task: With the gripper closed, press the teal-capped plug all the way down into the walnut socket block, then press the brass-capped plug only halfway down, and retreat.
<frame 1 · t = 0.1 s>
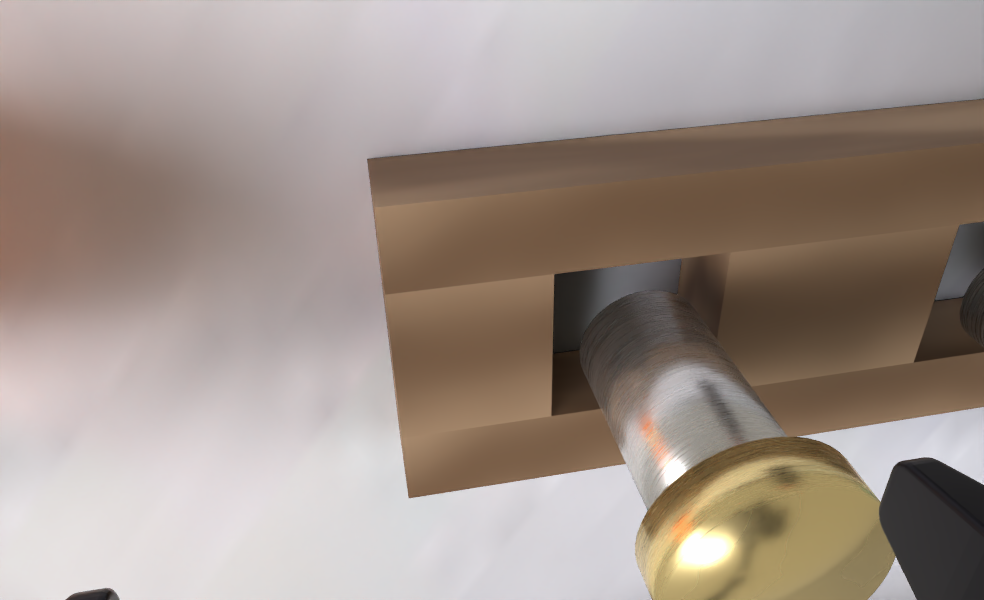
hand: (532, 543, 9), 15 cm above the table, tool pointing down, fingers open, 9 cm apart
socket block: (780, 262, 26), on the table
brass plug: (698, 442, 19), point 7 cm above the table, slide at 0.0 cm
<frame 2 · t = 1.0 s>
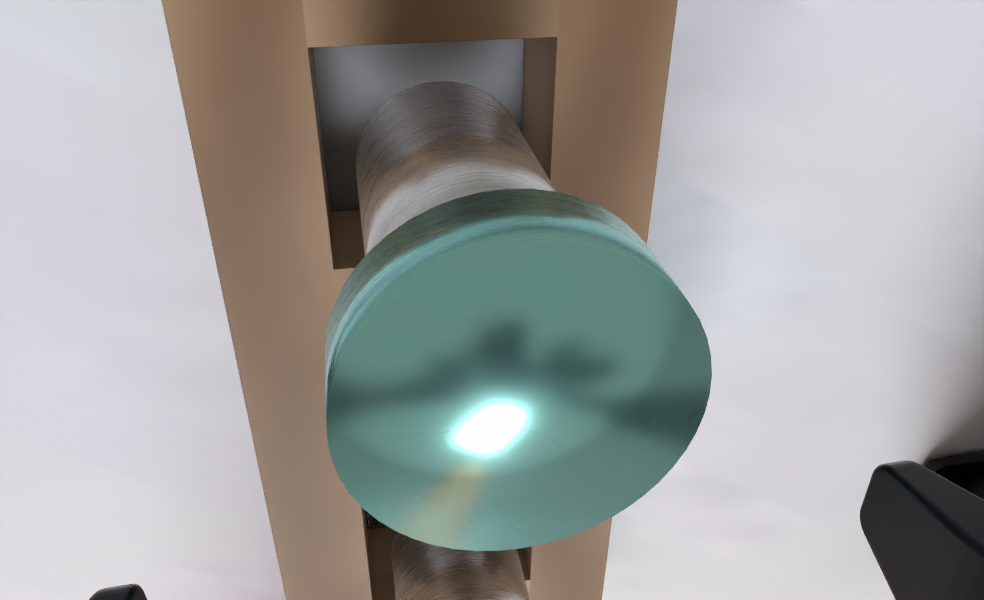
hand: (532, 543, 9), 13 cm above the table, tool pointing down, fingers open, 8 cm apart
teal plug: (472, 259, 14), point 7 cm above the table, slide at 0.0 cm
socket block: (431, 314, 23), on the table
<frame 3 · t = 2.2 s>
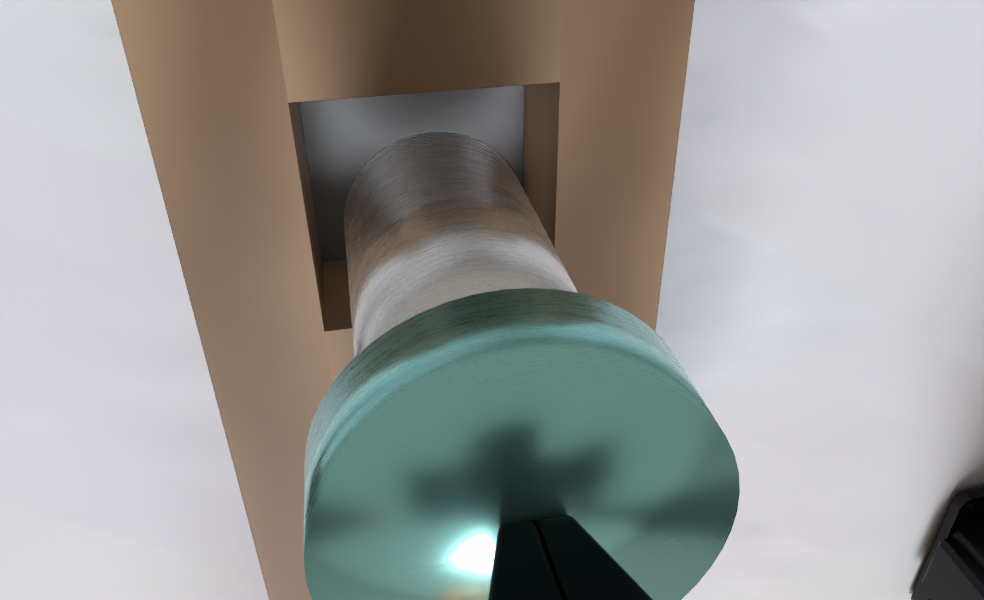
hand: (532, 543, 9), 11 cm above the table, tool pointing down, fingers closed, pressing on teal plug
teal plug: (470, 337, 12), point 7 cm above the table, slide at 0.1 cm, touching gripper
socket block: (432, 363, 22), on the table
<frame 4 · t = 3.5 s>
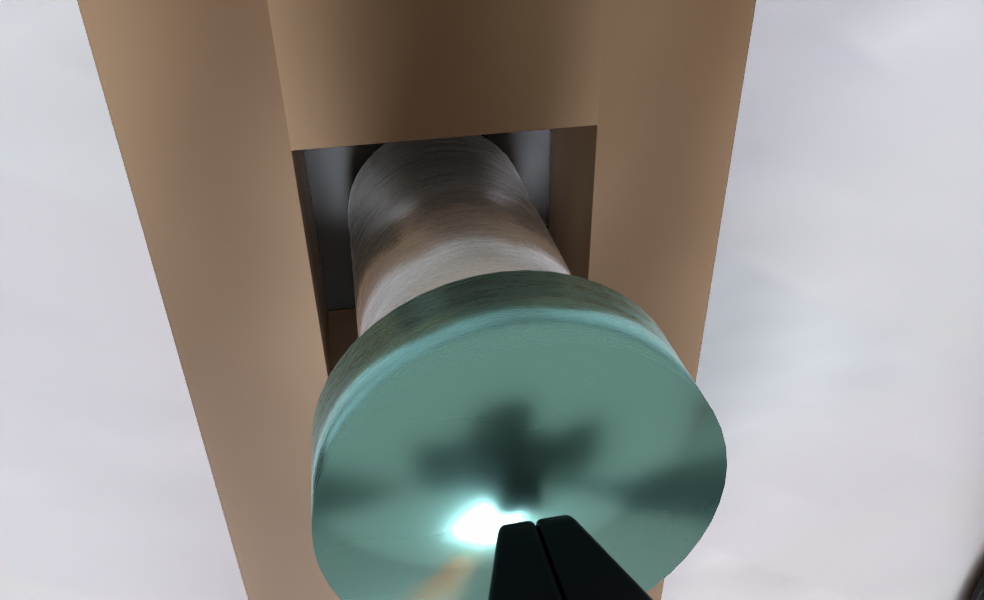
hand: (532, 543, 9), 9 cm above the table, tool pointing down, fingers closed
teal plug: (470, 323, 13), point 5 cm above the table, slide at 2.7 cm
socket block: (446, 415, 20), on the table
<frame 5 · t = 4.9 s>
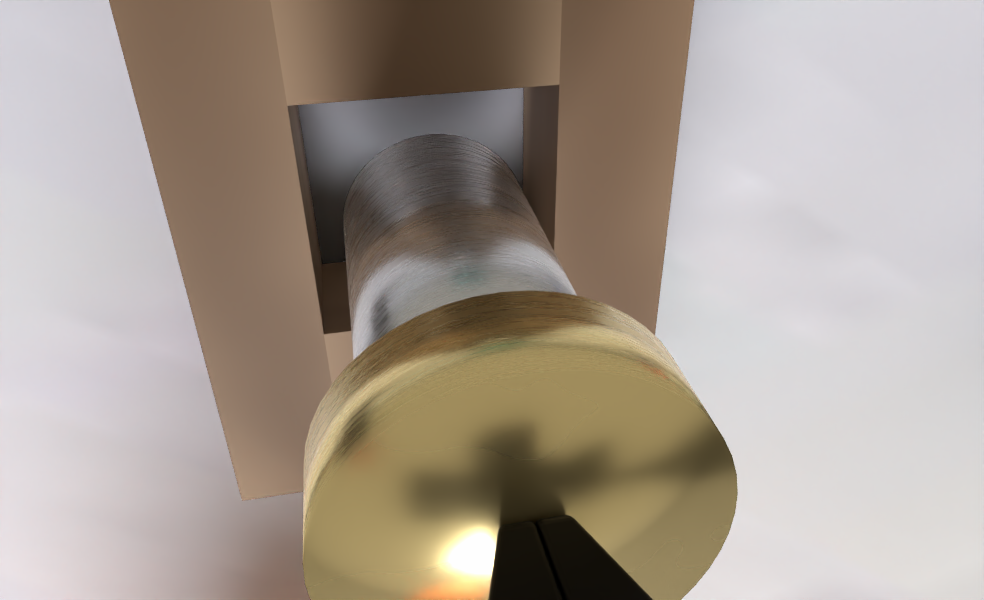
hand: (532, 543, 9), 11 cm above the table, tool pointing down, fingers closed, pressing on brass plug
brass plug: (469, 339, 12), point 7 cm above the table, slide at 0.2 cm, touching gripper
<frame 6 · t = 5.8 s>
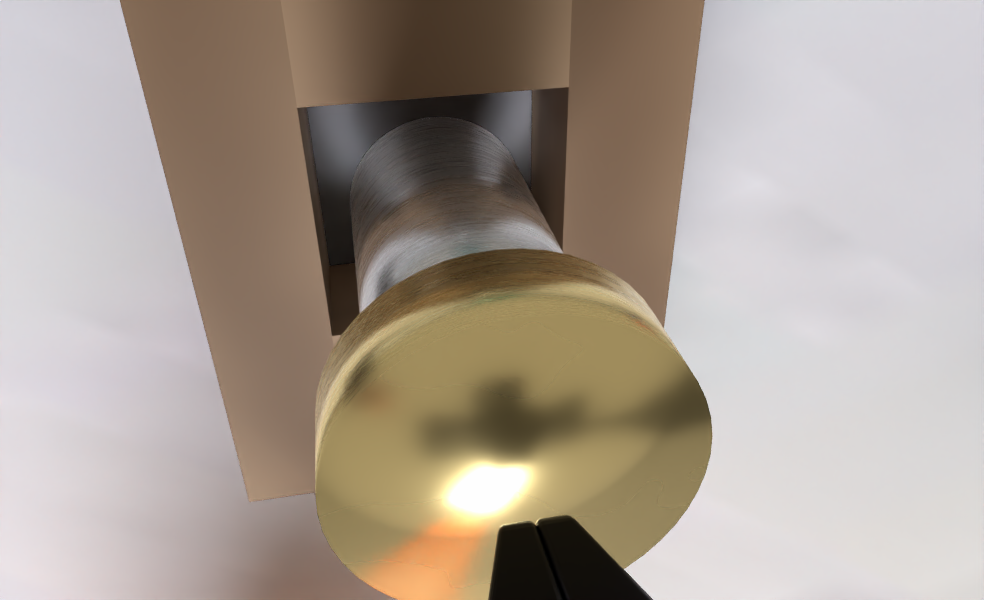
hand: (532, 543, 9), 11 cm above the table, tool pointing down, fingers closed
brass plug: (468, 305, 13), point 6 cm above the table, slide at 1.2 cm
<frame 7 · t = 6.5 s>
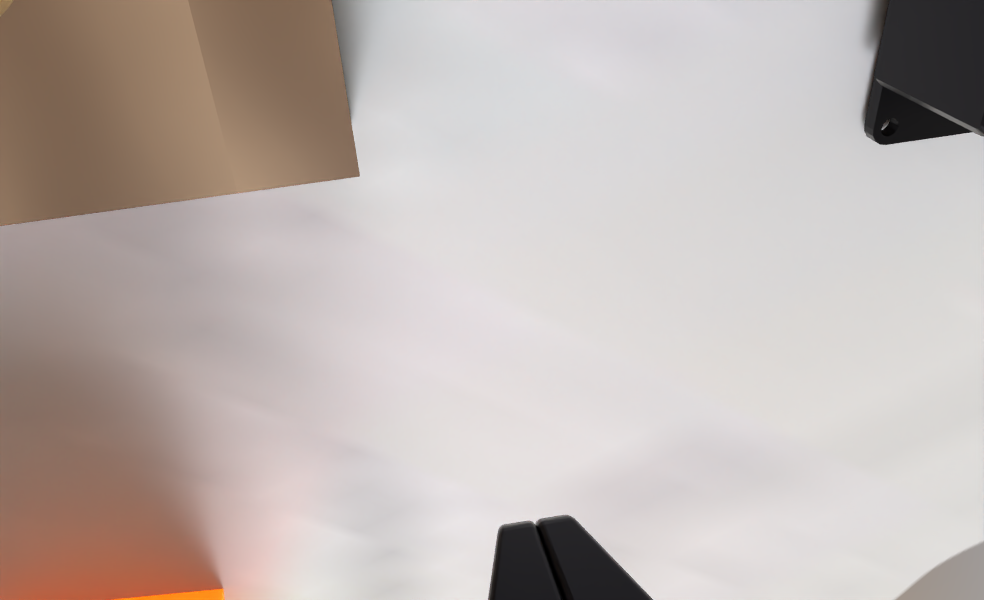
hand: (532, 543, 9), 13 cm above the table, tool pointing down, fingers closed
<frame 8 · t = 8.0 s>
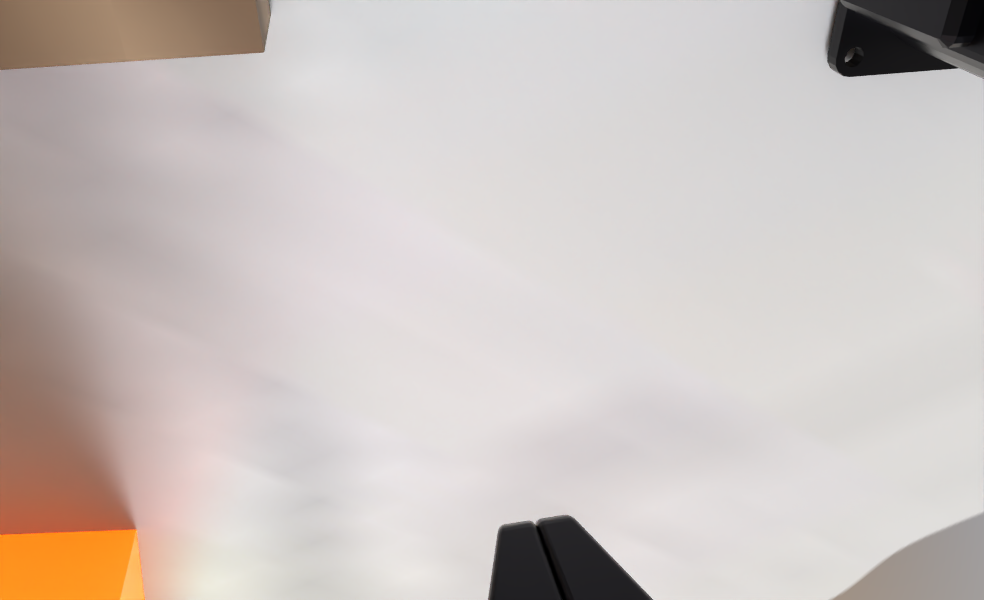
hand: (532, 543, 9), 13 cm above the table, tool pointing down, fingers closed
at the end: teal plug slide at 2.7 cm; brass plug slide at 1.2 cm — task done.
